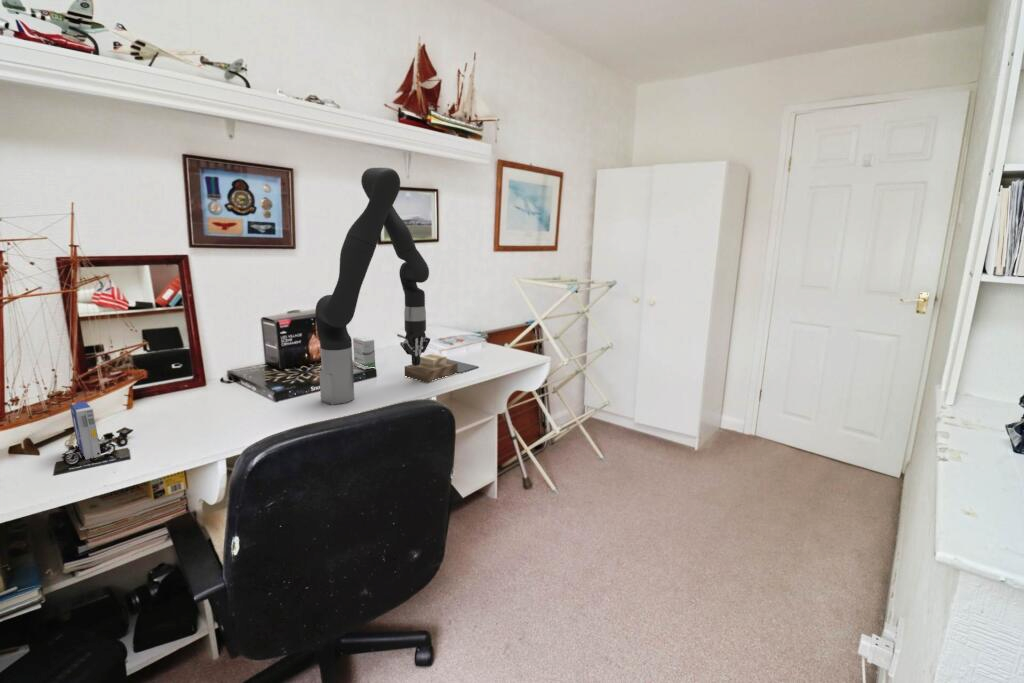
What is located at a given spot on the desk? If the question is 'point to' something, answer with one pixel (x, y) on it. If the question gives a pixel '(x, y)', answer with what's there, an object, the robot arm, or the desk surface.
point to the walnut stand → (430, 371)
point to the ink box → (364, 351)
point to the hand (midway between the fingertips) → (416, 365)
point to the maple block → (433, 360)
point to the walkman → (85, 429)
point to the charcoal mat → (463, 366)
